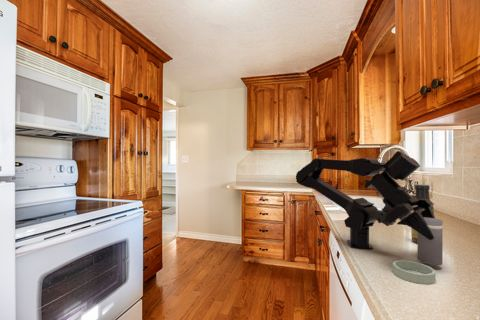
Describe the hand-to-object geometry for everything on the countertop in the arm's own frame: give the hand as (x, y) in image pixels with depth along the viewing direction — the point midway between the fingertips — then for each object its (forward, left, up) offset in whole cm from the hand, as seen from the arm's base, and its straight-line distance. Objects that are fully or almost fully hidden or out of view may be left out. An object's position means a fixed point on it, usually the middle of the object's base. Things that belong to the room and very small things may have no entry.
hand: (436, 237), depth 63 cm
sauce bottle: (-22, +7, -8) cm, 24 cm away
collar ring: (+6, -8, -8) cm, 13 cm away
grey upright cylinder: (-1, -1, -7) cm, 7 cm away
